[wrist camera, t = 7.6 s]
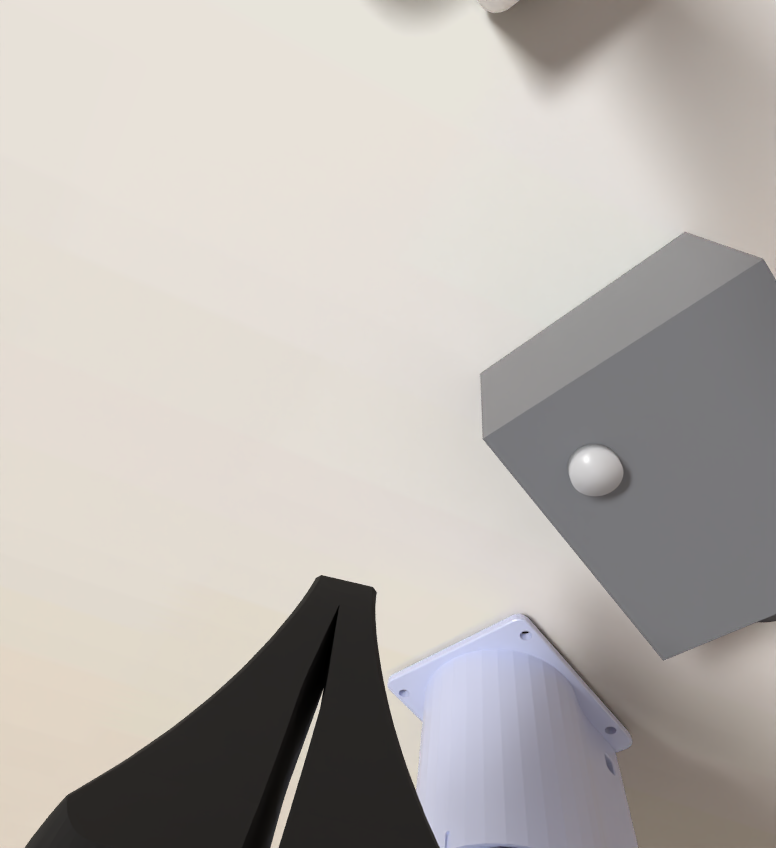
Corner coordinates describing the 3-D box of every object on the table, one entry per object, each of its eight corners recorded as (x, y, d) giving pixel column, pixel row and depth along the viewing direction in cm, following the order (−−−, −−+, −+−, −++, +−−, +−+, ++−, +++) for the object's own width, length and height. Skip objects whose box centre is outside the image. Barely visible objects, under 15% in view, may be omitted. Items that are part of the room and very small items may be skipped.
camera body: (844, 484, 21) (972, 595, 16) (642, 580, 24) (691, 701, 19) (688, 229, 18) (777, 259, 13) (480, 373, 21) (482, 446, 16)
